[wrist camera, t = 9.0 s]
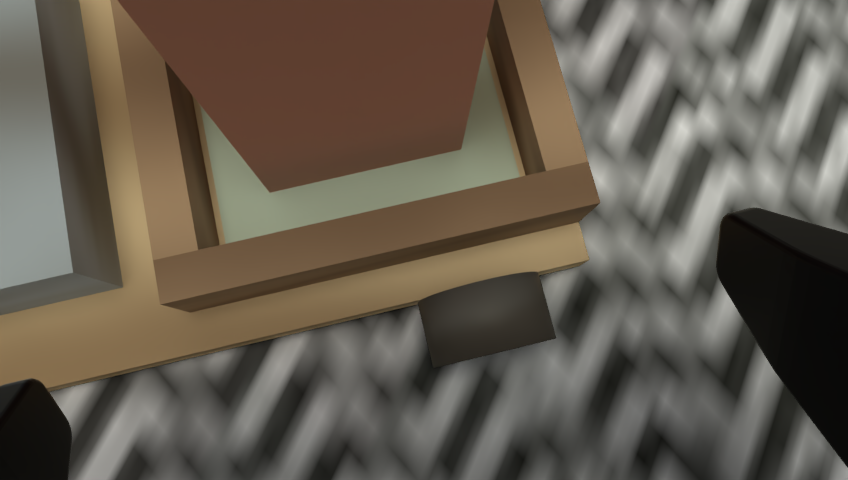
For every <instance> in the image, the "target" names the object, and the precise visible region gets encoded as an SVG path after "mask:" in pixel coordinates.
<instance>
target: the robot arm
mask: <svg viewBox="0 0 848 480" xmlns="http://www.w3.org/2000/svg"><path fill="white" fill-rule="evenodd" d="M716 268H717V274H718V277H719V279H720V281H721V283H722V285H723V287H724V288H725V290H726V292H727V293H728V295H729V297H730V298H731V300H732V302H733V303H734V305H735V307H736V308H737V310H738V312H739V313H740V315H741V317H742V318H743V320H744V322H745V323H746V325H747V327H748V328H749V330H750V332H751V333H752V335H753V337H754V338H755V340H756V342H757V343H758V345H759V347H760V348H761V350H762V352H763V353H764V355H765V357H766V358H767V360H768V361H769V363H770V364H771V366H772V368H773V369H774V371H775V372H776V374H777V375H778V376H779V378H780V379H781V380H782V382H783V383H784V385H785V386H786V387H787V389H788V390H789V391H790V393H791V394H792V395H793V396H794V398H795V399H796V400H797V402H798V403H799V404H800V406H801V407H802V408H803V410H804V411H805V412H806V414H807V415H808V416H809V417H810V419H811V420H812V421H813V423H814V424H815V425H816V427H817V428H818V429H819V431H820V432H821V433H822V435H823V436H824V437H825V438H826V440H827V441H828V442H829V444H830V445H831V446H832V448H833V449H834V450H835V452H836V453H837V454H838V456H839V457H840V458H841V459H842V461H843V462H844V463H845V465H846V466H847V467H848V234H847V233H843V232H840V231H837V230H833V229H830V228H826V227H823V226H819V225H816V224H812V223H809V222H805V221H802V220H798V219H795V218H791V217H788V216H784V215H781V214H777V213H774V212H771V211H767V210H764V209H760V208H748V209H744V210H740V211H735V212H731V213H728V214H726V215H725V216H724V217H723V219H722V221H721V224H720V232H719V241H718V251H717V260H716ZM71 444H72V433H71V428H70V425H69V422H68V420H67V418H66V417H65V415H64V414H63V412H62V411H61V409H60V408H59V406H58V405H57V403H56V402H55V400H54V399H53V397H52V396H51V394H50V393H49V391H48V390H47V388H46V387H45V386H44V384H43V383H42V382H41V381H39V380H37V379H33V378H29V379H25V380H21V381H16V382H12V383H8V384H4V385H2V386H0V480H68V473H69V463H70V454H71Z"/></svg>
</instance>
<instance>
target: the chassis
mask: <svg viewBox="0 0 848 480" xmlns="http://www.w3.org/2000/svg"><path fill="white" fill-rule="evenodd" d="M599 203H600V200H599V197H598V193H597V190H596V186H595V183H594V180H593V176H592V173H591V170H590V166H589V163H588V160H587V156H586V153H585V150H584V146H583V143H582V140H581V136H580V133H579V129H578V126H577V123H576V119H575V116H574V113H573V109H572V106H571V103H570V99H569V96H568V93H567V89H566V86H565V82H564V79H563V76H562V72H561V69H560V66H559V62H558V59H557V56H556V52H555V49H554V46H553V42H552V39H551V35H550V32H549V29H548V25H547V22H546V19H545V15H544V12H543V9H542V5H541V2H540V0H494V4H493V9H492V13H491V18H490V22H489V27H488V31H487V36H486V40H485V45H484V49H483V54H482V58H481V63H480V67H479V72H478V76H477V81H476V85H475V90H474V94H473V99H472V103H471V108H470V112H469V117H468V121H467V125H466V130H465V134H464V139H463V143H462V148H461V150H456V151H452V152H448V153H443V154H439V155H434V156H430V157H426V158H421V159H417V160H412V161H408V162H403V163H399V164H395V165H390V166H386V167H381V168H377V169H372V170H368V171H364V172H359V173H355V174H350V175H346V176H341V177H337V178H333V179H328V180H324V181H319V182H315V183H311V184H306V185H302V186H297V187H293V188H288V189H284V190H280V191H275V192H271V193H270V192H269V191H268V190H267V189H266V187H265V186H264V185H263V183H262V182H261V181H260V180H259V178H258V177H257V176H256V175H255V173H254V172H253V171H252V170H251V168H250V167H249V166H248V165H247V163H246V162H245V161H244V160H243V158H242V157H241V156H240V154H239V153H238V152H237V151H236V149H235V148H234V147H233V146H232V144H231V143H230V142H229V141H228V139H227V138H226V137H225V136H224V134H223V133H222V132H221V130H220V129H219V128H218V127H217V125H216V124H215V123H214V122H213V120H212V119H211V118H210V117H209V115H208V114H207V113H206V112H205V110H204V109H203V108H202V107H201V105H200V104H199V103H198V101H197V100H196V99H195V98H194V96H193V95H192V94H191V93H190V91H189V90H188V89H187V88H186V86H185V85H184V84H183V83H182V81H181V80H180V79H179V77H178V76H177V75H176V74H175V72H174V71H173V70H172V69H171V67H170V66H169V65H168V64H167V62H166V61H165V60H164V59H163V57H162V56H161V55H160V54H159V52H158V51H157V50H156V48H155V47H154V46H153V45H152V43H151V42H150V41H149V40H148V38H147V37H146V36H145V35H144V33H143V32H142V31H141V30H140V28H139V27H138V26H137V24H136V23H135V22H134V21H133V19H132V18H131V17H130V16H129V14H128V13H127V12H126V11H125V9H124V8H123V7H122V6H121V4H120V3H119V2H118V1H117V0H0V386H2V385H4V384H8V383H12V382H16V381H21V380H25V379H29V378H33V379H37V380H39V381H41V382H42V383H43V384H44V386H45V387H46V388H47V390H48V391H49V392H50V391H54V390H58V389H62V388H67V387H71V386H75V385H79V384H83V383H88V382H92V381H96V380H100V379H105V378H109V377H113V376H117V375H121V374H126V373H130V372H134V371H138V370H143V369H147V368H151V367H155V366H159V365H164V364H168V363H172V362H176V361H180V360H185V359H189V358H193V357H197V356H202V355H206V354H210V353H214V352H218V351H223V350H227V349H231V348H235V347H240V346H244V345H248V344H252V343H256V342H261V341H265V340H269V339H273V338H277V337H282V336H286V335H290V334H294V333H299V332H303V331H307V330H311V329H315V328H320V327H324V326H328V325H332V324H337V323H341V322H345V321H349V320H353V319H358V318H362V317H366V316H370V315H374V314H379V313H383V312H387V311H391V310H396V309H400V308H404V307H408V306H412V305H417V304H418V306H419V310H420V314H421V319H422V323H423V327H424V331H425V335H426V340H427V344H428V348H429V352H430V356H431V361H432V365H433V368H436V367H440V366H444V365H449V364H453V363H457V362H461V361H465V360H469V359H473V358H478V357H482V356H486V355H490V354H494V353H498V352H502V351H506V350H510V349H515V348H519V347H523V346H527V345H531V344H535V343H539V342H543V341H547V340H551V339H555V338H556V336H555V332H554V328H553V325H552V321H551V317H550V314H549V310H548V306H547V303H546V299H545V295H544V292H543V288H542V284H541V281H540V277H539V275H543V274H547V273H552V272H556V271H560V270H564V269H569V268H573V267H577V266H580V265H582V264H583V263H585V262H587V261H588V260H589V256H588V253H587V249H586V246H585V243H584V239H583V236H582V232H581V229H580V225H579V221H580V220H582V219H583V218H584V217H585V216H586V215H587V214H588V213H589V212H591V211H592V210H593V209H594V208H595V207H596V206H597V205H598V204H599Z"/></svg>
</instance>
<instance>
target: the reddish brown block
mask: <svg viewBox="0 0 848 480" xmlns="http://www.w3.org/2000/svg"><path fill="white" fill-rule="evenodd" d="M117 1H118V2H119V3H120V4H121V6H122V7H123V8H124V9H125V11H126V12H127V13H128V14H129V16H130V17H131V18H132V19H133V21H134V22H135V23H136V24H137V26H138V27H139V28H140V30H141V31H142V32H143V33H144V35H145V36H146V37H147V38H148V40H149V41H150V42H151V43H152V45H153V46H154V47H155V48H156V50H157V51H158V52H159V54H160V55H161V56H162V57H163V59H164V60H165V61H166V62H167V64H168V65H169V66H170V67H171V69H172V70H173V71H174V72H175V74H176V75H177V76H178V77H179V79H180V80H181V81H182V83H183V84H184V85H185V86H186V88H187V89H188V90H189V91H190V93H191V94H192V95H193V96H194V98H195V99H196V100H197V101H198V103H199V104H200V105H201V107H202V108H203V109H204V110H205V112H206V113H207V114H208V115H209V117H210V118H211V119H212V120H213V122H214V123H215V124H216V125H217V127H218V128H219V129H220V130H221V132H222V133H223V134H224V136H225V137H226V138H227V139H228V141H229V142H230V143H231V144H232V146H233V147H234V148H235V149H236V151H237V152H238V153H239V154H240V156H241V157H242V158H243V160H244V161H245V162H246V163H247V165H248V166H249V167H250V168H251V170H252V171H253V172H254V173H255V175H256V176H257V177H258V178H259V180H260V181H261V182H262V183H263V185H264V186H265V187H266V189H267V190H268V191H269V192H270V193H271V192H275V191H280V190H284V189H288V188H293V187H297V186H302V185H306V184H311V183H315V182H319V181H324V180H328V179H333V178H337V177H341V176H346V175H350V174H355V173H359V172H364V171H368V170H372V169H377V168H381V167H386V166H390V165H395V164H399V163H403V162H408V161H412V160H417V159H421V158H426V157H430V156H434V155H439V154H443V153H448V152H452V151H456V150H461V148H462V143H463V139H464V134H465V130H466V125H467V121H468V117H469V112H470V108H471V103H472V99H473V94H474V90H475V85H476V81H477V76H478V72H479V67H480V63H481V58H482V54H483V49H484V45H485V40H486V36H487V31H488V27H489V22H490V18H491V13H492V9H493V4H494V0H117Z"/></svg>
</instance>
